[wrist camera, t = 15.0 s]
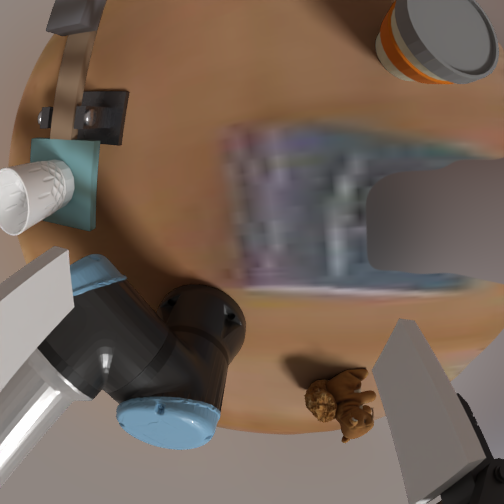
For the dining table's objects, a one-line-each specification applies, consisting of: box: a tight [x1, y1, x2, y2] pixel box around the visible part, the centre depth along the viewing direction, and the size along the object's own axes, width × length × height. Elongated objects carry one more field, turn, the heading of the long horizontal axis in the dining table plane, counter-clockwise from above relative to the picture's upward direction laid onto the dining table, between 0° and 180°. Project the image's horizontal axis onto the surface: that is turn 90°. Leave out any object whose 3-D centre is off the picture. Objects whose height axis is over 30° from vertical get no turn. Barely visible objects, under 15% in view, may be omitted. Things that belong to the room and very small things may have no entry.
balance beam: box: [30, 0, 107, 231], centre depth 28 cm, size 33×12×6 cm, turn 169°
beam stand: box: [38, 91, 129, 145], centre depth 34 cm, size 8×12×8 cm, turn 79°
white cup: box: [0, 160, 75, 235], centre depth 29 cm, size 8×8×10 cm
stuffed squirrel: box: [304, 369, 376, 443], centre depth 47 cm, size 10×14×13 cm
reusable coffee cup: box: [375, 0, 499, 84], centre depth 24 cm, size 13×12×15 cm
